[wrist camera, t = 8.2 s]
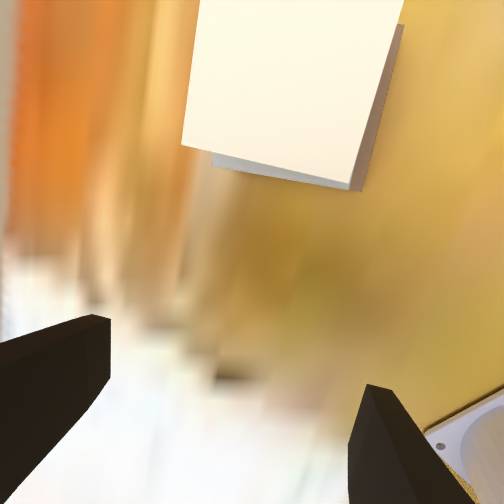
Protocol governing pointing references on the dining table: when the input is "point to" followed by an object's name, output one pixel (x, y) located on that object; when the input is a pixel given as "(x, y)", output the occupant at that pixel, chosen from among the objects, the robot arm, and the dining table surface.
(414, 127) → the dining table surface
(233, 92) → the cream cube
